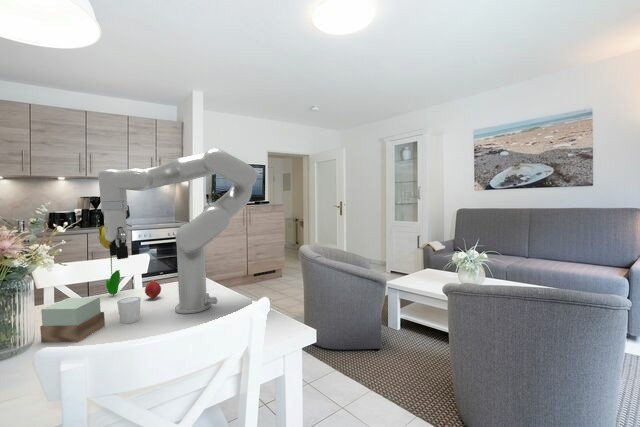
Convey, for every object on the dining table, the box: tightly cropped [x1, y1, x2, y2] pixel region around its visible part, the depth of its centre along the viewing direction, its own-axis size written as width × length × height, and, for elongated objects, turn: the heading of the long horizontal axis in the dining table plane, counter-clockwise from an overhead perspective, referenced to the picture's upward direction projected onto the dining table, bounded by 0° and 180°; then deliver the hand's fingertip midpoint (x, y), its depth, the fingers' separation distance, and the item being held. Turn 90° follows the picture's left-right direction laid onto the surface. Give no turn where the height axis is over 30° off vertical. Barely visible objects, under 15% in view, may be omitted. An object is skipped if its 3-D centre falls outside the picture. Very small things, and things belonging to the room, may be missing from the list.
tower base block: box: [39, 311, 106, 343], centre depth 97 cm, size 11×11×5 cm
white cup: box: [116, 296, 141, 325], centre depth 107 cm, size 7×7×7 cm
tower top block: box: [40, 296, 102, 326], centre depth 97 cm, size 10×10×5 cm
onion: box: [144, 279, 162, 300], centre depth 129 cm, size 6×6×8 cm
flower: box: [98, 225, 121, 297], centre depth 133 cm, size 9×8×30 cm
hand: (119, 256), depth 108 cm, fingers open, 9 cm apart
